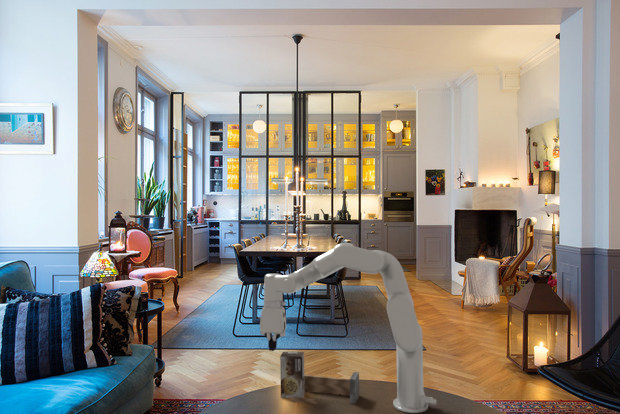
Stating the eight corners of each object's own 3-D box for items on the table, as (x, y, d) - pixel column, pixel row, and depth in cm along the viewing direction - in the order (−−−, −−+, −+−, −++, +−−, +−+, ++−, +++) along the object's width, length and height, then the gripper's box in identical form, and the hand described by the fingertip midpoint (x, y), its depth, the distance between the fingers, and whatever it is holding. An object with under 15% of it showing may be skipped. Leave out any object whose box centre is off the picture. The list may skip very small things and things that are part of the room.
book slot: (359, 395, 165) (358, 372, 165) (353, 408, 153) (352, 383, 153) (294, 388, 172) (294, 366, 173) (283, 400, 160) (283, 376, 161)
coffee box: (304, 392, 168) (304, 351, 169) (303, 398, 162) (302, 356, 163) (282, 391, 169) (282, 351, 170) (279, 397, 163) (279, 355, 164)
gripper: (293, 303, 172) (292, 349, 171) (260, 301, 176) (259, 346, 175) (287, 306, 165) (286, 354, 164) (252, 304, 169) (251, 350, 168)
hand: (272, 349), depth 169 cm, fingers closed
